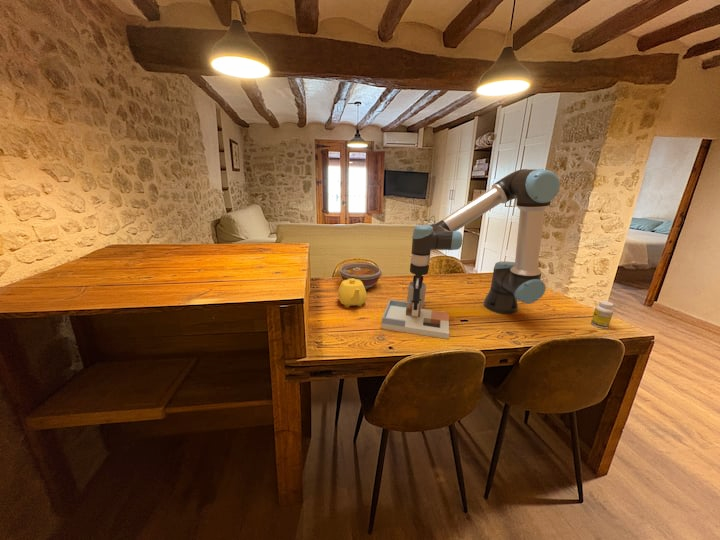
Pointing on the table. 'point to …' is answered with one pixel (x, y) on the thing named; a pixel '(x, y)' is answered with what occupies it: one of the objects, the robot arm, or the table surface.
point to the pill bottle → (602, 314)
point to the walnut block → (409, 309)
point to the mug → (422, 293)
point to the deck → (415, 321)
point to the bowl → (361, 273)
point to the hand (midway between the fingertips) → (414, 315)
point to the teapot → (352, 293)
